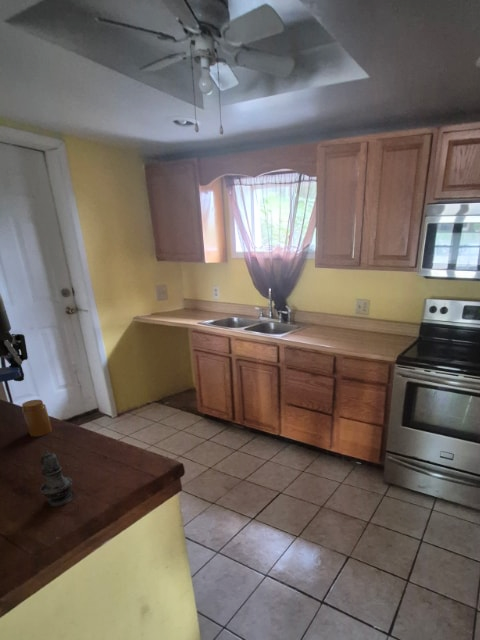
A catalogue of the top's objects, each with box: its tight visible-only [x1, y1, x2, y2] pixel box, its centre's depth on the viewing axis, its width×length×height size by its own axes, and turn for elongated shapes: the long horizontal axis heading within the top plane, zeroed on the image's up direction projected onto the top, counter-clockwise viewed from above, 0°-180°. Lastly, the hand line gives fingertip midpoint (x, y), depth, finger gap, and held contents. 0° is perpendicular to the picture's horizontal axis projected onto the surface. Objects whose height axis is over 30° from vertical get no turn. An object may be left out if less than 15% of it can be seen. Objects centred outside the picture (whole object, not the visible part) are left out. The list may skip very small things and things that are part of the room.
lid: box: [0, 366, 22, 383], centre depth 82 cm, size 6×6×2 cm
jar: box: [21, 399, 53, 438], centre depth 103 cm, size 5×5×10 cm
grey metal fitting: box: [39, 450, 75, 508], centre depth 77 cm, size 6×6×12 cm
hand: (7, 385), depth 84 cm, fingers closed on lid, 6 cm apart
